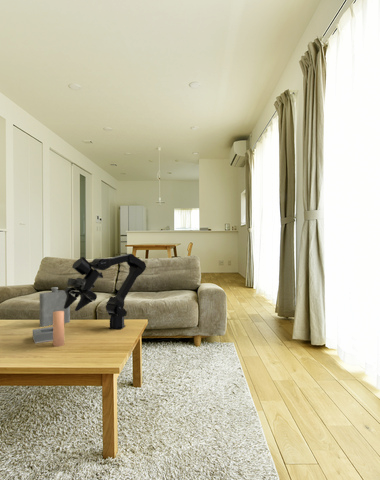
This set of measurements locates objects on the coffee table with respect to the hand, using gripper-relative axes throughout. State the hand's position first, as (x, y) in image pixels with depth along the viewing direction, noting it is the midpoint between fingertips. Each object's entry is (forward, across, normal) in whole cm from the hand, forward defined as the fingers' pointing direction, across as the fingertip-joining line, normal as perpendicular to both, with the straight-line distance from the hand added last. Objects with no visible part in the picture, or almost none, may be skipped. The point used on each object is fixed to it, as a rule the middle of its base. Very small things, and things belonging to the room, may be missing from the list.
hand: (70, 309), depth 140 cm
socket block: (+13, -11, +5) cm, 18 cm away
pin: (+15, +2, +3) cm, 15 cm away
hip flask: (+4, -35, +17) cm, 39 cm away
